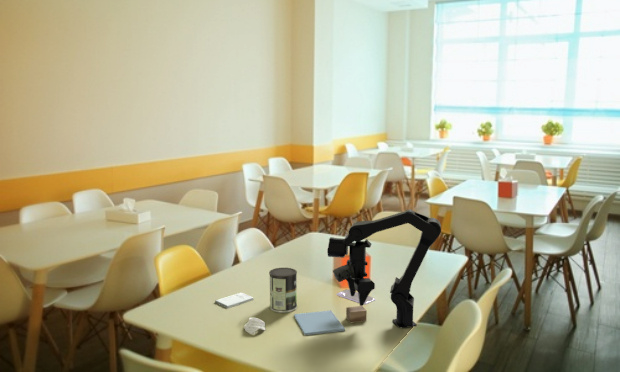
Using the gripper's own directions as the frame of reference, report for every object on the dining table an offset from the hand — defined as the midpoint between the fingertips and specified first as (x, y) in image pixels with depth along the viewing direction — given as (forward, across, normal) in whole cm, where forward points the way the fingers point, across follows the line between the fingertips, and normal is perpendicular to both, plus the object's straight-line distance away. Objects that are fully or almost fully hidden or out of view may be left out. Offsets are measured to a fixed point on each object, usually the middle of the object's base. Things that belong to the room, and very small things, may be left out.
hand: (356, 300), depth 184 cm
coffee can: (+7, -17, -23) cm, 30 cm away
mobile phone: (+8, -20, +7) cm, 22 cm away
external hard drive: (+8, -28, -40) cm, 50 cm away
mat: (+7, 0, -14) cm, 16 cm away
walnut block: (+7, 0, 0) cm, 7 cm away
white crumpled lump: (+7, -1, -36) cm, 37 cm away
